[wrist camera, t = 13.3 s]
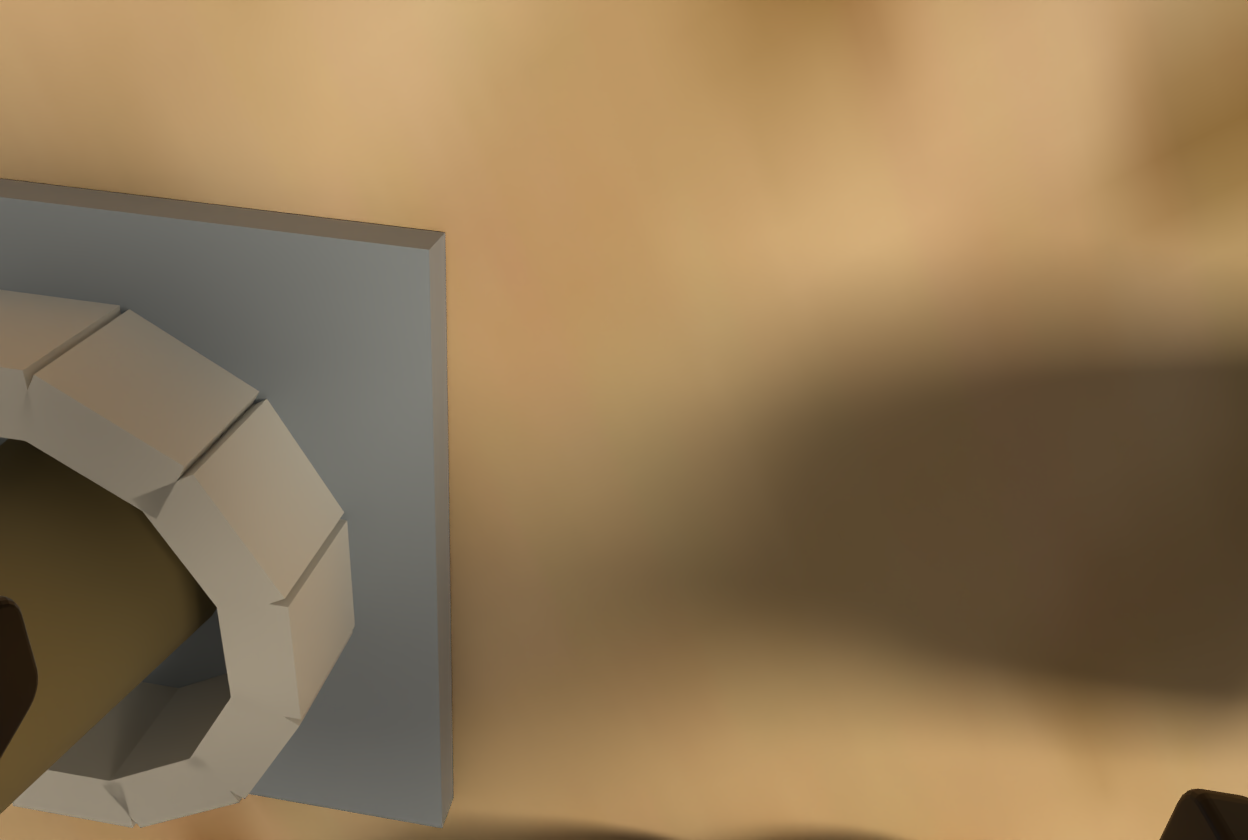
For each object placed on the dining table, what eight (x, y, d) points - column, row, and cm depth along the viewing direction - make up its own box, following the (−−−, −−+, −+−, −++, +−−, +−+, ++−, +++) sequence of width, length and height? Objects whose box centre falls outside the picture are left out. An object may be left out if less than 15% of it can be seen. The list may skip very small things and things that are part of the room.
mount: (445, 232, 20) (371, 312, 17) (453, 797, 28) (404, 931, 25) (-296, 142, 22) (-504, 198, 18) (-91, 702, 30) (-210, 815, 26)
